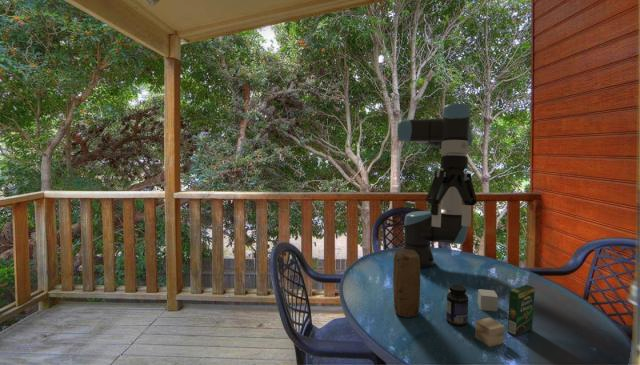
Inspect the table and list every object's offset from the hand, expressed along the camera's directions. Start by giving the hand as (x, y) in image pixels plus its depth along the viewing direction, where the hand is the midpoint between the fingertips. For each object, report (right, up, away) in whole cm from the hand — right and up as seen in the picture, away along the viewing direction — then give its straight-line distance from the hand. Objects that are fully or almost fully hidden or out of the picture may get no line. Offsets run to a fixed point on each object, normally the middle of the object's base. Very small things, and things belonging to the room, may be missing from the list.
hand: (451, 226), depth 103 cm
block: (-12, -29, +9) cm, 32 cm away
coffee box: (+19, -30, -3) cm, 36 cm away
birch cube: (+8, -31, -7) cm, 33 cm away
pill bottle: (+2, -30, +2) cm, 30 cm away
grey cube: (+16, -28, +12) cm, 35 cm away
